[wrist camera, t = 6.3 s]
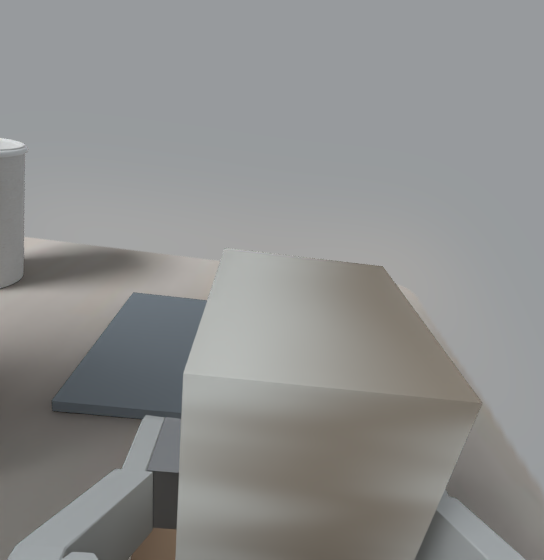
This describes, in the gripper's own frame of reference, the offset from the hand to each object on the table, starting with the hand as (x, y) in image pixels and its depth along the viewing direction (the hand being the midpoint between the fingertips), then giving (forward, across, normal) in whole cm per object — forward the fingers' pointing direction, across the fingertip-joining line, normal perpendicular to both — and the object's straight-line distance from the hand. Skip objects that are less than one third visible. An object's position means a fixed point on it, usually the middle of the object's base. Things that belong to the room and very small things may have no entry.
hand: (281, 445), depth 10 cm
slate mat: (+13, +3, +6) cm, 15 cm away
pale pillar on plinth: (-1, 0, +7) cm, 7 cm away
